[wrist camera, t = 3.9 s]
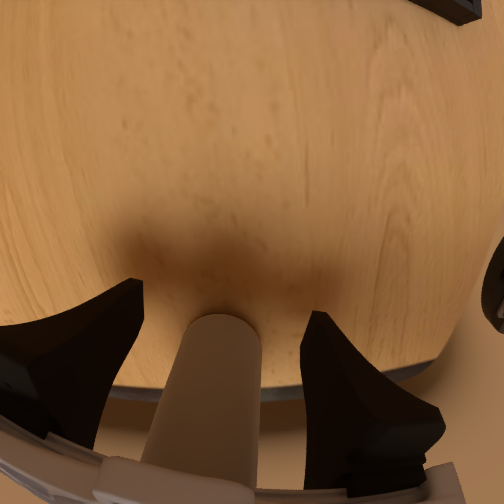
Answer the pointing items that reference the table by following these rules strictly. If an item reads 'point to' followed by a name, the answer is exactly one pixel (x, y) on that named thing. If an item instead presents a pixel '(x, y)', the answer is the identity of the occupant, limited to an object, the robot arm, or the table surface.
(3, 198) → the table surface
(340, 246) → the table surface
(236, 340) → the beverage can
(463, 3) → the tray
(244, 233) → the table surface
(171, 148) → the table surface
